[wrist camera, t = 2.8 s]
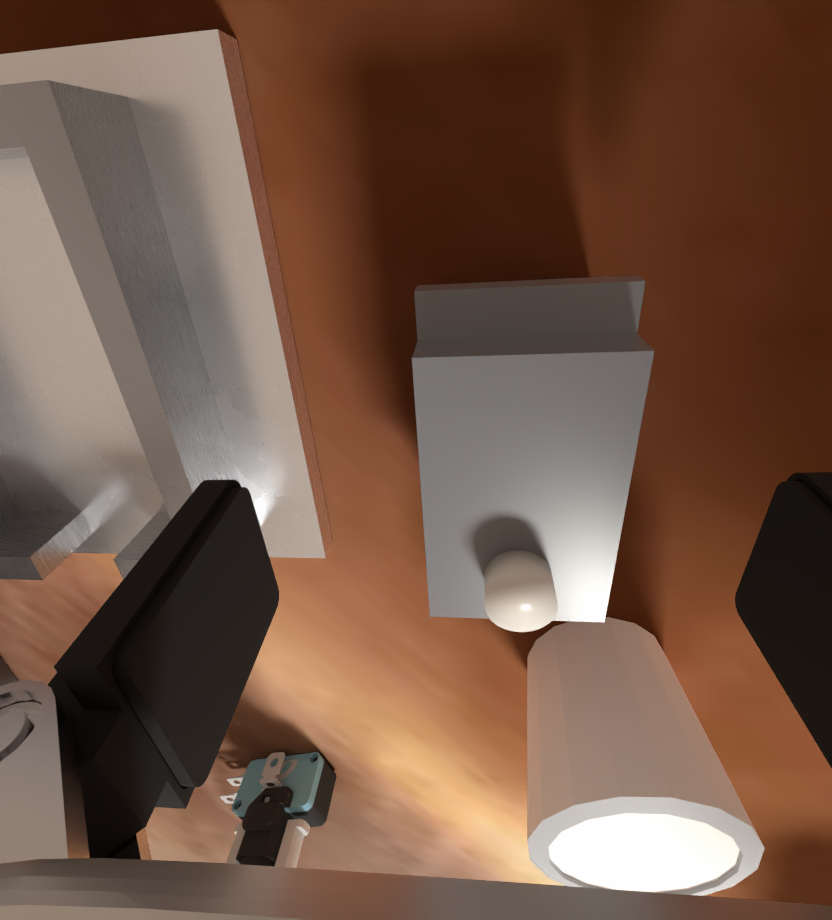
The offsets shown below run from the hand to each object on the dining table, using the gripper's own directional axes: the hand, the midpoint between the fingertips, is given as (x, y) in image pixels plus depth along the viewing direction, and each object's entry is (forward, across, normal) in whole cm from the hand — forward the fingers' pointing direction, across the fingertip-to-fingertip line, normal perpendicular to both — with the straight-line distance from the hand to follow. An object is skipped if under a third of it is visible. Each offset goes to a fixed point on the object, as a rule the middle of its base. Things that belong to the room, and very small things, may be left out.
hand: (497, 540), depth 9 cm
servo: (+7, -1, +1) cm, 7 cm away
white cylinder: (+7, -5, +13) cm, 15 cm away
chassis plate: (+7, +13, -1) cm, 15 cm away
